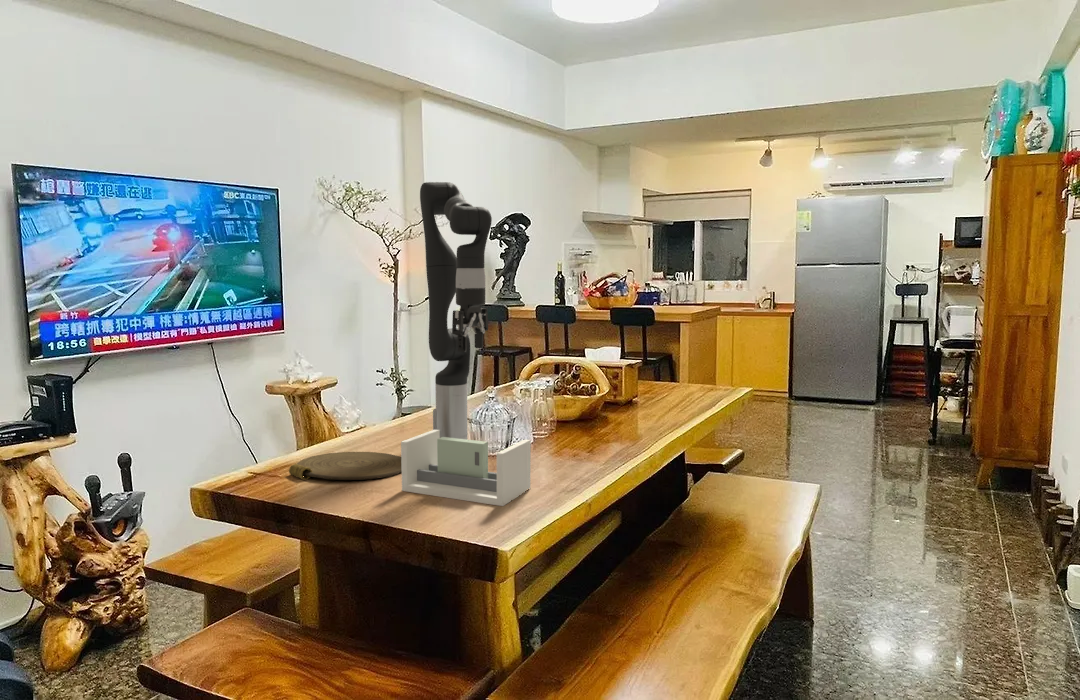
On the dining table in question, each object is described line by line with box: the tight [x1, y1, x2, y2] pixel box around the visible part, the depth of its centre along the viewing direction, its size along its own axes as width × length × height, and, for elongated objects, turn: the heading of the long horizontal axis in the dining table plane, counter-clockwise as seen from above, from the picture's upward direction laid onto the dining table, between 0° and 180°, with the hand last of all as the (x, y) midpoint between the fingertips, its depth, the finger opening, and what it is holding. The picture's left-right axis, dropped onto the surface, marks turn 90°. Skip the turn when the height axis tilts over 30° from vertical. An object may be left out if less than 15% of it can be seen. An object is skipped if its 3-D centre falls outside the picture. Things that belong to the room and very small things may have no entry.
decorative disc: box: [288, 451, 402, 481], centre depth 190 cm, size 29×3×30 cm
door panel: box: [437, 437, 489, 478], centre depth 171 cm, size 12×3×10 cm, turn 66°
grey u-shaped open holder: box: [400, 429, 532, 507], centre depth 171 cm, size 26×14×12 cm, turn 66°
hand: (470, 349), depth 191 cm, fingers open, 8 cm apart
